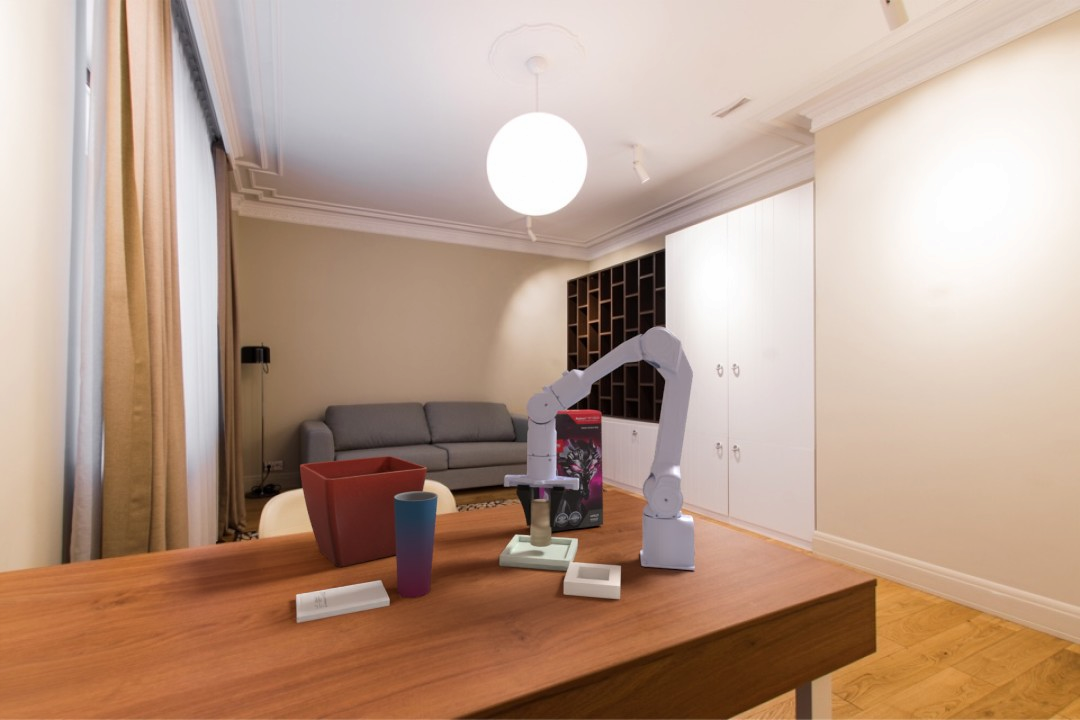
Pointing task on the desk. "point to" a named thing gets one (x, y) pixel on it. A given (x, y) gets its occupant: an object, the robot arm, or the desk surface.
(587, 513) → the graphics card box
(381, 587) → the external hard drive
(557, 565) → the tray
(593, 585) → the pin holder
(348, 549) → the plant pot
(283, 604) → the desk surface
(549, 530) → the peg
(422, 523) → the cup
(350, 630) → the desk surface
